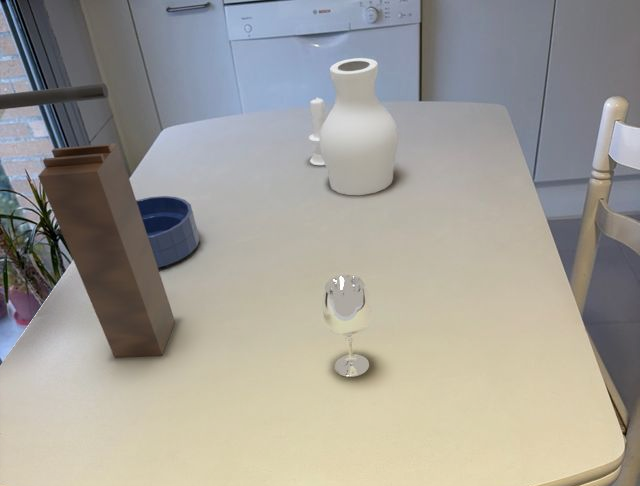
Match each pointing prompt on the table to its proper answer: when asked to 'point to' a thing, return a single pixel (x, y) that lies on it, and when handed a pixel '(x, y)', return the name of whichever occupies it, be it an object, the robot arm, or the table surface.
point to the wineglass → (347, 318)
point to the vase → (358, 132)
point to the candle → (317, 128)
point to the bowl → (169, 228)
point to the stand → (109, 246)
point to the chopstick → (53, 96)
